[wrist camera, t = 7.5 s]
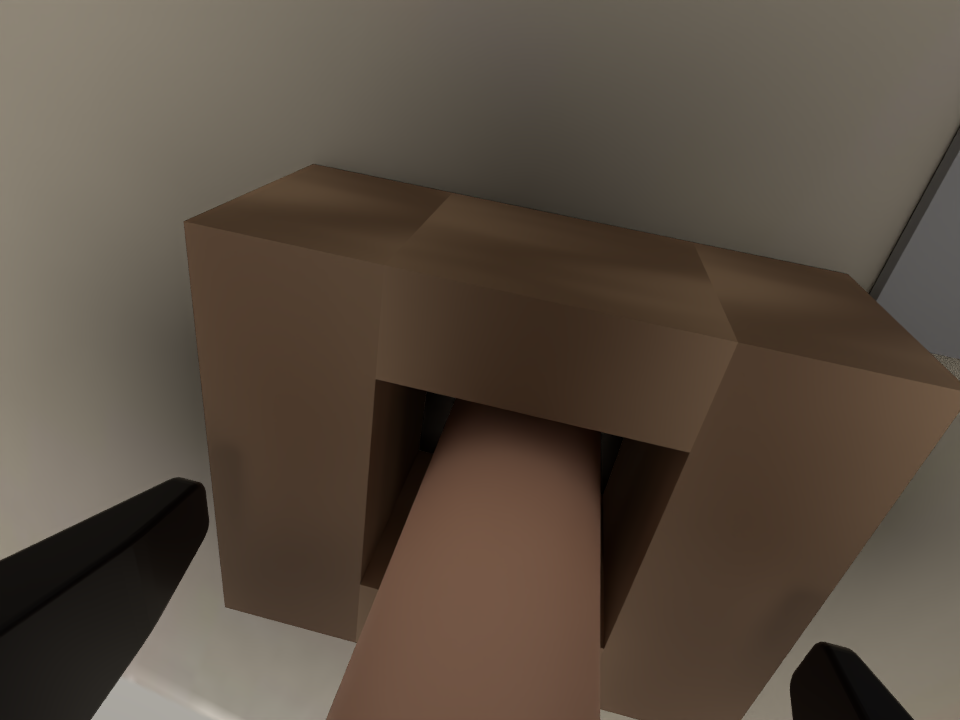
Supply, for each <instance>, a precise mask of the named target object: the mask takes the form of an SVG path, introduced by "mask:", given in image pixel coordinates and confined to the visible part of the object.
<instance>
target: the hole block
mask: <svg viewBox="0 0 960 720" xmlns="http://www.w3.org/2000/svg"><path fill="white" fill-rule="evenodd" d="M184 229H185V238H186V247H187V257H188V266H189V275H190V285H191V294H192V303H193V313H194V322H195V331H196V341H197V350H198V359H199V368H200V378H201V387H202V396H203V406H204V415H205V424H206V434H207V443H208V452H209V462H210V471H211V480H212V490H213V499H214V508H215V517H216V527H217V536H218V545H219V555H220V564H221V573H222V583H223V592H224V601H225V607H227V608H230V609H234V610H238V611H241V612H245V613H249V614H252V615H256V616H260V617H263V618H267V619H271V620H274V621H278V622H282V623H285V624H289V625H293V626H296V627H300V628H304V629H307V630H311V631H315V632H318V633H322V634H326V635H330V636H333V637H337V638H341V639H344V640H348V641H352V642H355V643H357V642H358V639H359V637H360V634H361V632H362V629H363V627H364V624H365V622H366V619H367V617H368V614H369V612H370V609H371V607H372V604H373V602H374V600H375V597H376V595H377V592H378V590H379V587H380V585H381V582H382V580H383V577H384V575H385V572H386V570H387V567H388V565H389V562H390V560H391V557H392V555H393V552H394V550H395V548H396V545H397V543H398V540H399V538H400V535H401V533H402V530H403V528H404V525H405V523H406V520H407V518H408V515H409V513H410V510H411V508H412V505H413V503H414V501H415V498H416V496H417V493H418V491H419V488H420V486H421V483H422V481H423V478H424V476H425V473H426V471H427V468H428V466H429V463H430V461H431V458H432V456H433V454H432V453H428V452H424V451H420V450H419V446H420V439H421V431H422V423H423V416H424V408H425V400H426V393H427V391H429V392H433V393H437V394H441V395H446V396H450V397H454V398H458V399H463V400H467V401H471V402H476V403H480V404H484V405H488V406H493V407H497V408H501V409H505V410H510V411H514V412H518V413H522V414H527V415H531V416H535V417H540V418H544V419H548V420H552V421H557V422H561V423H565V424H569V425H574V426H578V427H582V428H586V429H591V430H595V431H599V432H604V433H608V434H612V435H616V436H621V437H624V438H623V441H622V444H621V446H620V449H619V452H618V455H617V458H616V460H615V463H614V466H613V469H612V472H611V474H610V477H609V480H608V483H607V486H606V489H605V491H604V494H603V495H601V529H600V709H602V710H605V711H609V712H613V713H616V714H620V715H624V716H627V717H631V718H635V719H638V720H741V719H742V718H743V716H744V715H745V713H746V712H747V711H748V709H749V708H750V706H751V705H752V704H753V702H754V701H755V699H756V698H757V697H758V695H759V694H760V692H761V691H762V689H763V688H764V687H765V685H766V684H767V682H768V681H769V680H770V678H771V677H772V675H773V674H774V673H775V671H776V670H777V668H778V667H779V665H780V664H781V663H782V661H783V660H784V658H785V657H786V656H787V654H788V653H789V651H790V650H791V649H792V647H793V646H794V644H795V643H796V642H797V640H798V639H799V637H800V636H801V634H802V633H803V632H804V630H805V629H806V627H807V626H808V625H809V623H810V622H811V620H812V619H813V618H814V616H815V615H816V613H817V612H818V610H819V609H820V608H821V606H822V605H823V603H824V602H825V601H826V599H827V598H828V596H829V595H830V594H831V592H832V591H833V589H834V588H835V587H836V585H837V584H838V582H839V581H840V579H841V578H842V577H843V575H844V574H845V572H846V571H847V570H848V568H849V567H850V565H851V564H852V563H853V561H854V560H855V558H856V557H857V555H858V554H859V553H860V551H861V550H862V548H863V547H864V546H865V544H866V543H867V541H868V540H869V539H870V537H871V536H872V534H873V533H874V532H875V530H876V529H877V527H878V526H879V524H880V523H881V522H882V520H883V519H884V517H885V516H886V515H887V513H888V512H889V510H890V509H891V508H892V506H893V505H894V503H895V502H896V500H897V499H898V498H899V496H900V495H901V493H902V492H903V491H904V489H905V488H906V486H907V485H908V484H909V482H910V481H911V479H912V478H913V477H914V475H915V474H916V472H917V471H918V469H919V468H920V467H921V465H922V464H923V462H924V461H925V460H926V458H927V457H928V455H929V454H930V453H931V451H932V450H933V448H934V447H935V446H936V444H937V443H938V441H939V440H940V438H941V437H942V436H943V434H944V433H945V431H946V430H947V429H948V427H949V426H950V424H951V423H952V422H953V420H954V419H955V417H956V416H957V414H958V413H959V412H960V381H959V380H958V379H957V378H956V377H955V376H954V375H953V374H952V373H951V372H950V371H948V370H947V369H946V368H945V367H944V366H943V365H942V364H941V363H940V362H939V361H938V360H937V359H936V358H935V357H934V356H933V355H932V354H931V353H930V352H929V351H928V350H927V349H926V348H924V347H923V346H922V345H921V344H920V343H919V342H918V341H917V340H916V339H915V338H914V337H913V336H912V335H911V334H910V333H909V332H908V331H907V330H906V329H905V328H904V327H903V326H902V325H901V324H899V323H898V322H897V321H896V320H895V319H894V318H893V317H892V316H891V315H890V314H889V313H888V312H887V311H886V310H885V309H884V308H883V307H882V306H881V305H880V304H879V303H878V302H877V301H875V300H874V299H873V298H872V297H871V296H870V295H869V294H868V293H867V292H866V291H865V290H864V289H863V288H862V287H861V286H860V285H859V284H858V283H857V282H856V281H855V280H854V279H853V278H852V277H850V276H849V275H848V274H844V273H839V272H834V271H830V270H825V269H820V268H815V267H810V266H805V265H800V264H796V263H791V262H786V261H781V260H776V259H771V258H766V257H762V256H757V255H752V254H747V253H742V252H737V251H733V250H728V249H723V248H718V247H713V246H708V245H703V244H699V243H694V242H689V241H684V240H679V239H674V238H669V237H665V236H660V235H655V234H650V233H645V232H640V231H635V230H631V229H626V228H621V227H616V226H611V225H606V224H601V223H597V222H592V221H587V220H582V219H577V218H572V217H568V216H563V215H558V214H553V213H548V212H543V211H538V210H534V209H529V208H524V207H519V206H514V205H509V204H504V203H500V202H495V201H490V200H485V199H480V198H475V197H470V196H466V195H461V194H456V193H451V192H446V191H441V190H437V189H432V188H427V187H422V186H417V185H412V184H407V183H403V182H398V181H393V180H388V179H383V178H378V177H373V176H369V175H364V174H359V173H354V172H349V171H344V170H339V169H335V168H330V167H325V166H320V165H315V164H312V165H310V166H308V167H305V168H303V169H301V170H298V171H296V172H294V173H292V174H289V175H287V176H285V177H283V178H280V179H278V180H276V181H274V182H271V183H269V184H267V185H265V186H262V187H260V188H258V189H256V190H253V191H251V192H249V193H247V194H244V195H242V196H240V197H238V198H235V199H233V200H231V201H229V202H226V203H224V204H222V205H220V206H217V207H215V208H213V209H211V210H208V211H206V212H204V213H202V214H199V215H197V216H195V217H193V218H190V219H188V220H186V221H184Z"/></svg>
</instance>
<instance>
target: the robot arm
mask: <svg viewBox="0 0 960 720" xmlns="http://www.w3.org/2000/svg"><path fill="white" fill-rule="evenodd" d="M208 527H209V516H208V507H207V499H206V490H205V487H204V486H203V484H202V483H200V482H197V481H193V480H189V479H185V478H180V477H177V478H172V479H170V480H168V481H165V482H163V483H161V484H159V485H157V486H155V487H153V488H151V489H149V490H147V491H145V492H142V493H140V494H138V495H136V496H134V497H132V498H130V499H128V500H126V501H124V502H122V503H119V504H117V505H115V506H113V507H111V508H109V509H107V510H105V511H103V512H101V513H99V514H96V515H94V516H92V517H90V518H88V519H86V520H84V521H82V522H80V523H78V524H76V525H73V526H71V527H69V528H67V529H65V530H63V531H61V532H59V533H57V534H55V535H53V536H50V537H48V538H46V539H44V540H42V541H40V542H38V543H36V544H34V545H32V546H30V547H27V548H25V549H23V550H21V551H19V552H17V553H15V554H13V555H11V556H9V557H6V558H4V559H2V560H0V720H91V719H92V717H93V716H94V714H95V713H96V712H97V710H98V709H99V707H100V706H101V704H102V703H103V701H104V700H105V699H106V697H107V696H108V694H109V693H110V691H111V690H112V689H113V687H114V686H115V684H116V683H117V681H118V680H119V679H120V677H121V676H122V674H123V673H124V671H125V670H126V668H127V667H128V666H129V664H130V663H131V661H132V660H133V658H134V657H135V656H136V654H137V653H138V651H139V650H140V648H141V647H142V645H143V644H144V642H145V641H146V639H147V638H148V636H149V635H150V633H151V632H152V630H153V628H154V627H155V625H156V623H157V622H158V620H159V618H160V617H161V615H162V613H163V611H164V610H165V608H166V606H167V604H168V602H169V601H170V599H171V597H172V595H173V593H174V592H175V590H176V588H177V586H178V585H179V583H180V581H181V579H182V577H183V576H184V574H185V572H186V570H187V568H188V567H189V565H190V563H191V561H192V559H193V558H194V556H195V554H196V552H197V551H198V549H199V547H200V545H201V543H202V542H203V540H204V538H205V536H206V533H207V531H208ZM790 697H791V706H792V716H793V720H914V719H913V718H912V717H911V716H910V715H909V713H908V712H907V711H906V710H905V709H904V708H903V707H902V705H901V704H900V703H899V702H898V701H897V700H896V698H895V697H894V696H893V695H892V694H891V693H890V692H889V690H888V689H887V688H886V687H885V686H884V685H883V684H882V682H881V681H880V680H879V679H878V678H877V677H876V676H875V674H874V673H873V672H872V671H871V670H870V669H869V668H868V666H867V665H866V664H865V663H864V662H863V661H862V660H861V658H860V657H859V656H858V655H857V654H856V653H855V652H853V651H852V650H850V649H848V648H846V647H842V646H838V645H834V644H831V643H827V642H819V643H817V644H815V645H814V646H813V647H812V649H811V650H810V651H809V653H808V654H807V655H806V657H805V658H804V660H803V661H802V662H801V664H800V665H799V666H798V668H797V669H796V670H795V672H794V673H793V675H792V678H791V683H790Z"/></svg>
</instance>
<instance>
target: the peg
mask: <svg viewBox="0 0 960 720" xmlns="http://www.w3.org/2000/svg"><path fill="white" fill-rule="evenodd" d="M600 529H601V432H599V431H595V430H591V429H586V428H582V427H578V426H574V425H569V424H565V423H561V422H557V421H552V420H548V419H544V418H540V417H535V416H531V415H527V414H522V413H518V412H514V411H510V410H505V409H501V408H497V407H493V406H488V405H484V404H480V403H476V402H471V401H467V400H463V399H458V398H456V399H455V401H454V404H453V406H452V409H451V411H450V414H449V416H448V419H447V421H446V424H445V426H444V429H443V431H442V434H441V436H440V439H439V441H438V444H437V446H436V449H435V451H434V453H433V456H432V458H431V461H430V463H429V466H428V468H427V471H426V473H425V476H424V478H423V481H422V483H421V486H420V488H419V491H418V493H417V496H416V498H415V501H414V503H413V505H412V508H411V510H410V513H409V515H408V518H407V520H406V523H405V525H404V528H403V530H402V533H401V535H400V538H399V540H398V543H397V545H396V548H395V550H394V552H393V555H392V557H391V560H390V562H389V565H388V567H387V570H386V572H385V575H384V577H383V580H382V582H381V585H380V587H379V590H378V592H377V595H376V597H375V600H374V602H373V604H372V607H371V609H370V612H369V614H368V617H367V619H366V622H365V624H364V627H363V629H362V632H361V634H360V637H359V639H358V642H357V644H356V647H355V649H354V652H353V654H352V656H351V659H350V661H349V664H348V666H347V669H346V671H345V674H344V676H343V679H342V681H341V684H340V686H339V689H338V691H337V694H336V696H335V699H334V701H333V704H332V706H331V708H330V711H329V713H328V716H327V718H326V720H600Z"/></svg>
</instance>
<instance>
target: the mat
mask: <svg viewBox="0 0 960 720" xmlns="http://www.w3.org/2000/svg"><path fill="white" fill-rule="evenodd" d="M869 295H870V296H871V297H872V298H873V299H874V300H875V301H877V302H878V303H879V304H880V305H881V306H882V307H883V308H884V309H885V310H886V311H887V312H888V313H889V314H890V315H891V316H892V317H893V318H894V319H895V320H896V321H897V322H898V323H899V324H901V325H902V326H903V327H904V328H905V329H906V330H907V331H908V332H909V333H910V334H911V335H912V336H913V337H914V338H915V339H916V340H917V341H918V342H919V343H920V344H921V345H922V346H923V347H924V348H926V349H927V350H928V351H929V352H930V353H933V354H938V355H943V356H947V357H952V358H957V359H960V129H959V130H958V132H957V134H956V136H955V138H954V140H953V141H952V143H951V145H950V147H949V149H948V151H947V153H946V154H945V156H944V158H943V160H942V162H941V164H940V165H939V167H938V169H937V171H936V173H935V175H934V176H933V178H932V180H931V182H930V184H929V186H928V188H927V189H926V191H925V193H924V195H923V197H922V199H921V200H920V202H919V204H918V206H917V208H916V210H915V211H914V213H913V215H912V217H911V219H910V221H909V223H908V224H907V226H906V228H905V230H904V232H903V234H902V235H901V237H900V239H899V241H898V243H897V245H896V246H895V248H894V250H893V252H892V254H891V256H890V257H889V259H888V261H887V263H886V265H885V267H884V269H883V270H882V272H881V274H880V276H879V278H878V280H877V281H876V283H875V285H874V287H873V289H872V291H871V292H870V294H869Z"/></svg>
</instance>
